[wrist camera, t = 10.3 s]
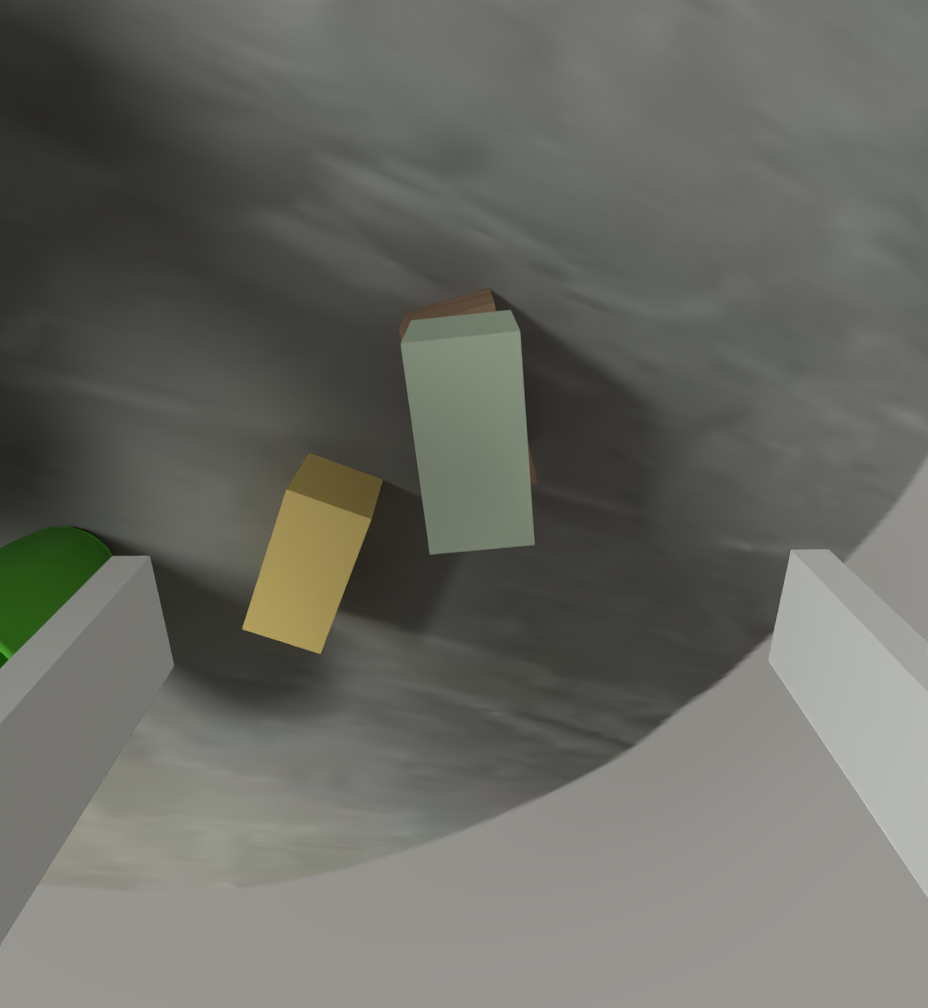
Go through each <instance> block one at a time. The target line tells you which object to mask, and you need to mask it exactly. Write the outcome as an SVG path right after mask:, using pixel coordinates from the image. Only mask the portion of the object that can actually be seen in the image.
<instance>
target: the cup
mask: <svg viewBox="0 0 928 1008" xmlns="http://www.w3.org/2000/svg"><path fill="white" fill-rule="evenodd" d="M112 556H113V555H112V553H111V552H110V551H109V549H108V548H107V547H106V546H105V545H104V544H103V543H102V542H101V541H100V540H99V539H98V538H96V537H94V536H93V535H91V534H90V533H88V532H85V531H83V530H80V529H77V528H72V527H49V528H45V529H41V530H38V531H36V532H34V533H32V534H29V535H27V536H25V537H23V538H21V539H18V540H16V541H14V542H12V543H10V544H8V545H5V546H3V547H1V548H0V668H1V667H2V666H3V665H4V664H5V663H6V662H7V661H8V660H9V659H10V658H11V657H12V656H13V655H14V654H15V653H16V652H17V651H18V650H19V649H20V648H21V647H22V646H23V645H24V644H25V643H26V642H27V641H28V640H29V639H30V638H31V637H32V636H33V635H34V634H35V633H36V632H37V631H38V630H39V629H40V628H41V627H42V626H43V625H44V624H45V623H46V622H47V621H48V620H49V619H50V618H51V617H52V616H53V615H54V614H55V613H56V612H57V611H58V610H59V609H60V608H61V607H62V606H63V605H64V604H65V603H66V602H67V601H68V600H69V599H70V598H71V597H72V596H73V595H74V594H75V593H76V592H77V591H78V590H79V589H80V588H81V587H82V586H83V585H84V584H85V583H86V582H87V581H88V580H89V579H90V578H91V577H92V576H93V575H94V574H95V573H96V572H97V571H98V570H99V569H100V568H101V567H102V566H103V565H104V564H105V563H106V562H107V561H108V560H109V559H110V558H111V557H112Z"/></svg>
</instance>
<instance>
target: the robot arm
mask: <svg viewBox="0 0 928 1008" xmlns="http://www.w3.org/2000/svg"><path fill="white" fill-rule="evenodd" d="M768 662H769V663H770V664H771V666H772V667H773V669H774V670H775V672H776V673H777V675H778V676H779V678H780V679H781V681H782V682H783V684H784V685H785V687H786V688H787V690H788V691H789V692H790V694H791V696H792V697H793V699H794V700H795V702H796V703H797V705H798V706H799V707H800V709H801V710H802V712H803V713H804V715H805V716H806V718H807V719H808V721H809V722H810V724H811V725H812V727H813V728H814V730H815V731H816V732H817V734H818V736H819V737H820V739H821V740H822V742H823V743H824V744H825V746H826V747H827V749H828V750H829V752H830V753H831V755H832V756H833V758H834V759H835V761H836V762H837V764H838V765H839V767H840V768H841V770H842V771H843V773H844V774H845V776H846V777H847V779H848V780H849V781H850V783H851V784H852V786H853V787H854V789H855V790H856V792H857V793H858V795H859V796H860V798H861V799H862V801H863V802H864V804H865V805H866V807H867V808H868V810H869V811H870V813H871V814H872V816H873V817H874V819H875V820H876V822H877V823H878V825H879V826H880V827H881V829H882V830H883V832H884V833H885V835H886V836H887V838H888V839H889V841H890V842H891V844H892V845H893V847H894V848H895V850H896V851H897V853H898V854H899V856H900V857H901V859H902V860H903V862H904V863H905V865H906V866H907V868H908V869H909V871H910V872H911V874H912V875H913V876H914V878H915V879H916V881H917V882H918V884H919V885H920V887H921V888H922V890H923V891H924V893H925V894H926V896H927V897H928V642H927V641H926V640H925V639H924V638H923V637H922V636H920V635H919V634H918V633H917V632H916V631H915V630H914V629H913V628H912V627H911V626H910V625H909V624H908V623H907V622H906V621H904V620H903V619H902V618H901V617H900V616H899V615H898V614H897V613H896V612H895V611H894V610H893V609H892V608H891V607H890V606H888V605H887V604H886V603H885V602H884V601H883V600H882V599H881V598H880V597H879V596H878V595H877V594H875V593H874V592H873V591H872V590H871V589H870V588H869V587H868V586H867V585H866V584H865V583H864V582H863V581H862V580H861V579H860V578H858V577H857V576H856V575H855V574H854V573H853V572H852V571H851V570H850V569H849V568H848V567H847V566H846V565H845V564H844V563H842V562H841V561H840V560H839V559H838V558H837V557H836V556H835V555H834V554H833V553H832V552H831V551H830V550H829V549H819V550H791V552H790V557H789V562H788V567H787V571H786V576H785V581H784V586H783V590H782V595H781V600H780V605H779V609H778V614H777V619H776V624H775V628H774V633H773V638H772V643H771V648H770V652H769V657H768ZM173 667H174V662H173V658H172V653H171V649H170V644H169V640H168V635H167V631H166V626H165V622H164V617H163V613H162V608H161V604H160V599H159V595H158V590H157V586H156V581H155V577H154V572H153V568H152V563H151V559H150V556H112V557H111V558H110V559H109V560H108V561H107V562H106V563H105V564H104V565H103V566H102V567H101V568H100V569H99V570H98V571H97V572H96V573H95V574H94V575H93V576H92V577H91V578H90V579H89V580H88V581H87V582H86V583H85V584H84V585H83V586H82V587H81V588H80V589H79V590H78V591H77V592H76V593H75V594H74V595H73V596H72V597H71V598H70V599H69V600H68V601H67V602H66V603H65V604H64V605H63V606H62V607H61V608H60V609H59V610H58V611H57V612H56V613H55V614H54V615H53V616H52V617H51V618H50V619H49V620H48V621H47V622H46V623H45V624H44V625H43V626H42V627H41V628H40V629H39V630H38V631H37V632H36V633H35V634H34V635H33V636H32V637H31V638H30V639H29V640H28V641H27V642H26V643H25V644H24V645H23V646H22V647H21V648H20V649H19V650H18V651H17V652H16V653H15V654H14V655H13V656H12V657H11V658H10V659H9V660H8V661H7V662H6V663H5V664H4V665H3V666H2V667H1V668H0V944H1V943H2V941H3V939H4V938H5V936H6V935H7V933H8V932H9V930H10V928H11V927H12V925H13V924H14V922H15V920H16V918H17V917H18V916H19V914H20V912H21V911H22V909H23V908H24V906H25V904H26V903H27V901H28V899H29V898H30V896H31V895H32V893H33V891H34V890H35V888H36V887H37V885H38V883H39V882H40V880H41V879H42V877H43V875H44V874H45V872H46V871H47V869H48V867H49V866H50V864H51V863H52V861H53V859H54V858H55V856H56V855H57V853H58V851H59V850H60V848H61V847H62V845H63V843H64V842H65V840H66V839H67V837H68V835H69V834H70V832H71V831H72V829H73V827H74V826H75V824H76V823H77V821H78V819H79V818H80V816H81V815H82V813H83V811H84V810H85V808H86V807H87V805H88V803H89V802H90V800H91V799H92V797H93V795H94V794H95V792H96V791H97V789H98V787H99V786H100V784H101V783H102V781H103V779H104V778H105V776H106V775H107V773H108V771H109V770H110V768H111V767H112V765H113V763H114V762H115V760H116V758H117V757H118V755H119V754H120V752H121V750H122V749H123V747H124V746H125V744H126V742H127V741H128V739H129V738H130V736H131V734H132V733H133V731H134V730H135V728H136V726H137V725H138V723H139V722H140V720H141V718H142V717H143V715H144V714H145V712H146V710H147V709H148V707H149V706H150V704H151V702H152V701H153V699H154V698H155V696H156V694H157V693H158V691H159V690H160V688H161V686H162V685H163V683H164V682H165V680H166V678H167V677H168V675H169V674H170V672H171V670H172V669H173Z"/></svg>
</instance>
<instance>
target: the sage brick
mask: <svg viewBox="0 0 928 1008" xmlns="http://www.w3.org/2000/svg"><path fill="white" fill-rule="evenodd" d="M400 344H401V351H402V358H403V365H404V372H405V380H406V387H407V394H408V401H409V408H410V416H411V423H412V430H413V437H414V444H415V451H416V459H417V466H418V473H419V480H420V487H421V495H422V502H423V509H424V516H425V523H426V531H427V538H428V545H429V552H430V555H431V554H442V553H453V552H464V551H475V550H486V549H497V548H508V547H519V546H530V545H535V542H534V527H533V512H532V498H531V483H530V468H529V454H528V439H527V424H526V410H525V395H524V380H523V365H522V351H521V336H520V330H519V327H518V325H517V323H516V321H515V318H514V316H513V314H512V312H511V310H505V311H495V312H486V313H476V314H467V315H457V316H448V317H439V318H429V319H420V320H411V322H410V324H409V326H408V328H407V330H406V333H405V335H404V337H403V339H402V341H401V343H400Z"/></svg>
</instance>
